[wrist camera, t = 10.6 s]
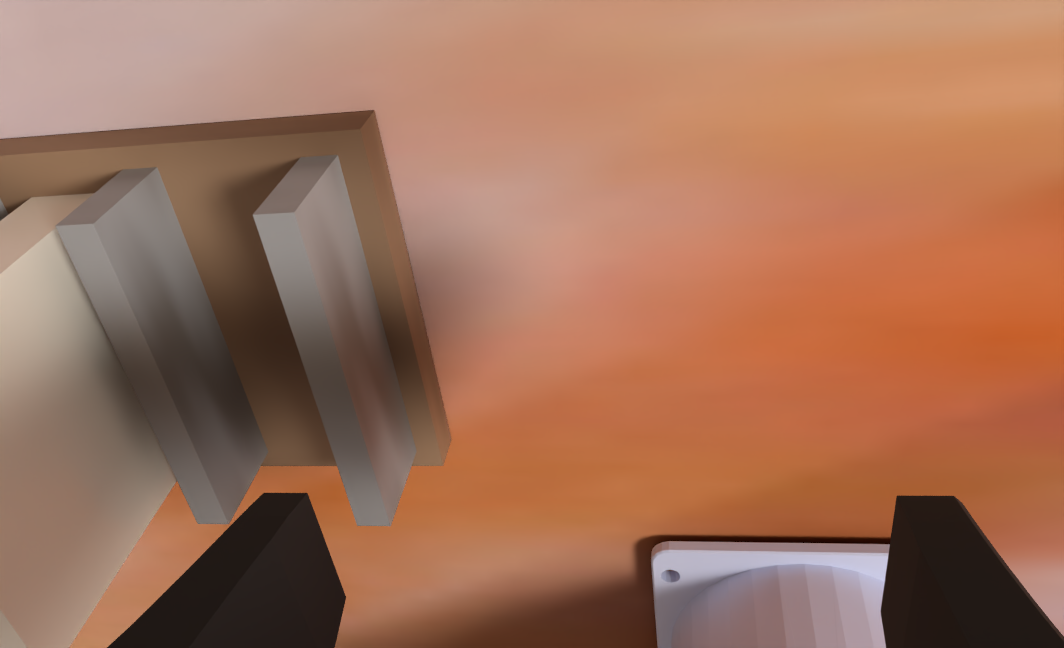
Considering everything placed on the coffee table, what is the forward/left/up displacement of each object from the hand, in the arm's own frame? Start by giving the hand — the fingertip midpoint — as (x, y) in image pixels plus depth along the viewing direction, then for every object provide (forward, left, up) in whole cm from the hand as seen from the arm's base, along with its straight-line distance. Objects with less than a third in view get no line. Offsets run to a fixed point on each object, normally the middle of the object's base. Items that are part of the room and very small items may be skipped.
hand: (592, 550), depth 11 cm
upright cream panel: (-2, +12, -8) cm, 15 cm away
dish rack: (-2, +12, -9) cm, 15 cm away
